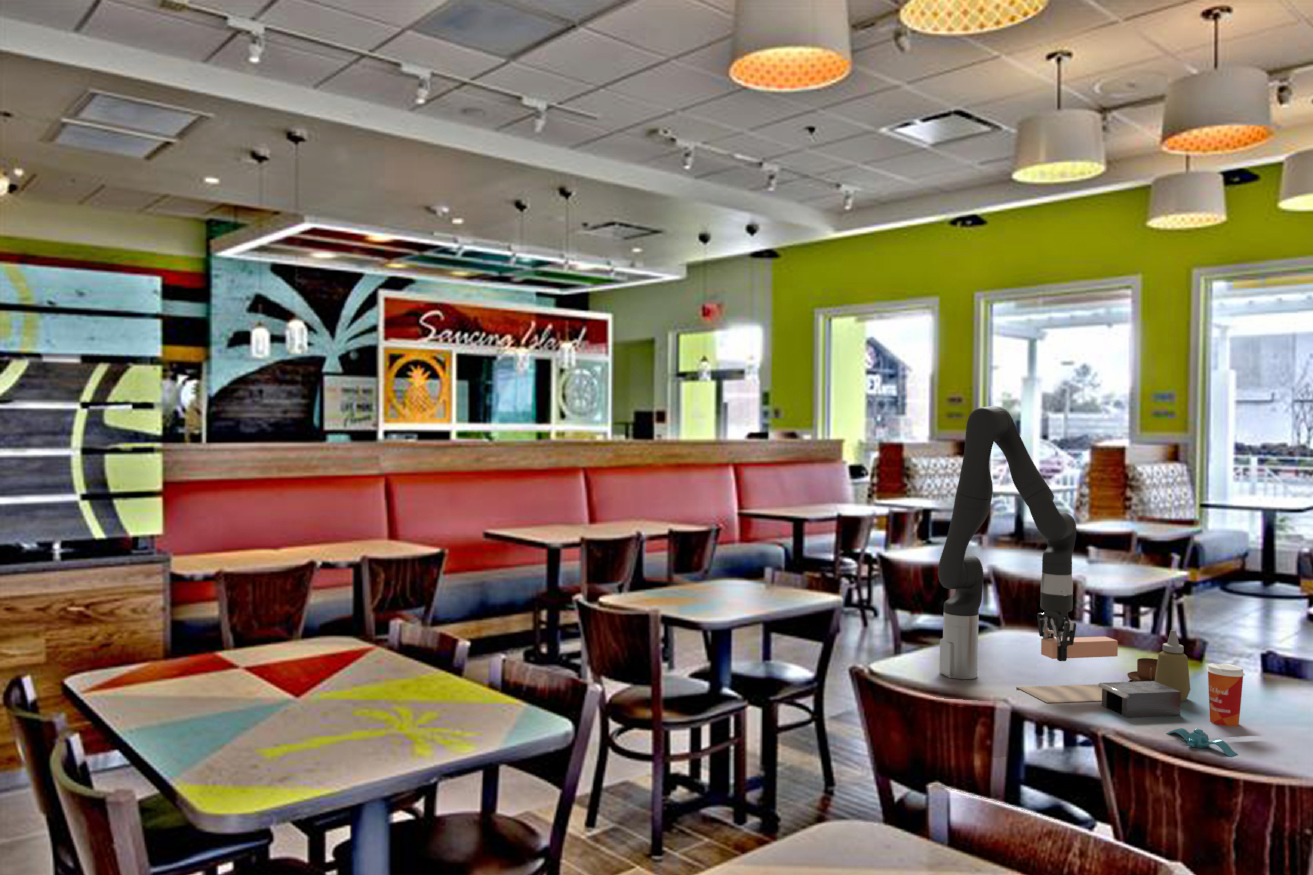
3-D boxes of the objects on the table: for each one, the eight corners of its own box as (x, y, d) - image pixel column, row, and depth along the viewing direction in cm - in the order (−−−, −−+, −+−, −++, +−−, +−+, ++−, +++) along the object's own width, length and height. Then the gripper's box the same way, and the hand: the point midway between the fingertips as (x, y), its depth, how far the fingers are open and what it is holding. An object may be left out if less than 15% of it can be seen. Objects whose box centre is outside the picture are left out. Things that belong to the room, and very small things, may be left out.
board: (1046, 707, 235) (1047, 702, 235) (1016, 691, 248) (1016, 686, 248) (1142, 703, 239) (1142, 699, 239) (1106, 688, 253) (1107, 683, 253)
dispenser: (1124, 722, 224) (1124, 693, 224) (1097, 709, 234) (1098, 682, 233) (1180, 719, 226) (1181, 691, 226) (1152, 707, 236) (1152, 680, 236)
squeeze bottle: (1194, 707, 237) (1196, 634, 236) (1159, 704, 238) (1161, 632, 238) (1183, 698, 245) (1185, 628, 244) (1149, 695, 246) (1151, 626, 246)
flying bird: (1154, 740, 212) (1155, 722, 212) (1171, 735, 216) (1172, 718, 216) (1225, 760, 199) (1225, 742, 199) (1241, 755, 203) (1242, 737, 203)
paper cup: (1197, 721, 225) (1199, 662, 225) (1228, 721, 226) (1229, 662, 225) (1220, 732, 217) (1221, 670, 217) (1251, 731, 218) (1253, 670, 218)
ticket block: (1052, 658, 239) (1052, 642, 239) (1041, 654, 244) (1041, 638, 244) (1117, 656, 242) (1117, 640, 242) (1105, 651, 247) (1105, 636, 247)
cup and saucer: (1183, 691, 252) (1184, 668, 252) (1134, 688, 254) (1134, 665, 254) (1168, 679, 263) (1169, 657, 263) (1121, 676, 266) (1122, 654, 266)
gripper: (1027, 586, 249) (1026, 652, 249) (1059, 596, 234) (1058, 665, 235) (1054, 586, 250) (1052, 651, 250) (1087, 595, 236) (1086, 664, 236)
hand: (1055, 657), depth 242 cm, fingers closed on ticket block, 5 cm apart
